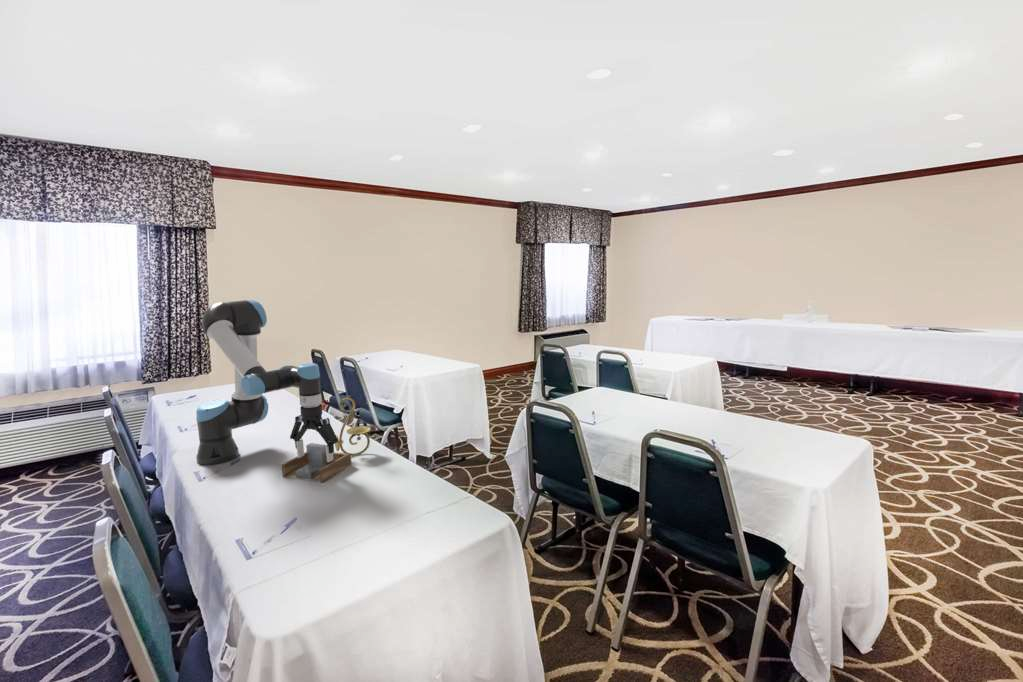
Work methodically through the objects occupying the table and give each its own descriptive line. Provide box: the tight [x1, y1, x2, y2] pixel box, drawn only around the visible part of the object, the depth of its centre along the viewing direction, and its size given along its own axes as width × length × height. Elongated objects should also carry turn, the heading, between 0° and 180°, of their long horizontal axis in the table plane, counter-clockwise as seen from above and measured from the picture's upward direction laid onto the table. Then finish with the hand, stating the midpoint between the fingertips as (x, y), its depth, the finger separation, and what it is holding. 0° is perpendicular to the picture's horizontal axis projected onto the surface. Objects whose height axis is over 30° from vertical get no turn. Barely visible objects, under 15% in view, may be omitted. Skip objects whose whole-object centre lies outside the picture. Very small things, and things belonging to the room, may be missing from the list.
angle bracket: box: [295, 443, 327, 480], centre depth 188 cm, size 9×7×10 cm
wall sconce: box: [334, 397, 371, 457], centre depth 204 cm, size 14×10×25 cm
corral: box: [281, 451, 352, 484], centre depth 191 cm, size 18×16×5 cm
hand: (315, 458), depth 190 cm, fingers open, 13 cm apart
